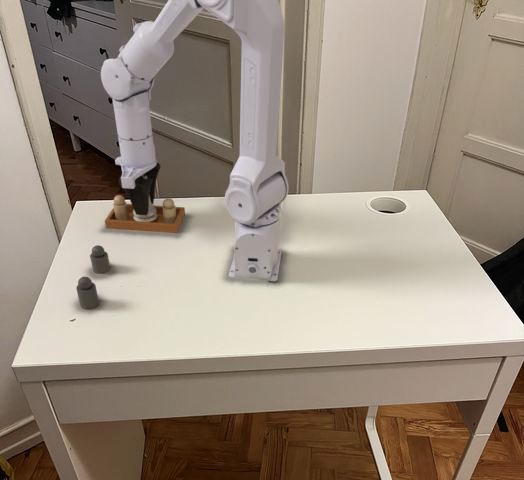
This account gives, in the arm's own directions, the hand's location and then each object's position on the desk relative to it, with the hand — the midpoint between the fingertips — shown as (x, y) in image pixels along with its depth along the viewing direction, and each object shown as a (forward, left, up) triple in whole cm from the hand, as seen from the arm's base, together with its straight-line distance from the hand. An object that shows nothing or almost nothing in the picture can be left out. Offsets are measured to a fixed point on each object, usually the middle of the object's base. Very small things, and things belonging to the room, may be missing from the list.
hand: (144, 208), depth 104 cm
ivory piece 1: (0, +5, -2) cm, 5 cm away
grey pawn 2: (-17, +3, -3) cm, 18 cm away
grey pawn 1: (-26, +2, -3) cm, 26 cm away
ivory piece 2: (0, -5, -2) cm, 5 cm away
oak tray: (0, 0, -3) cm, 3 cm away
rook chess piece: (0, 0, -2) cm, 2 cm away
